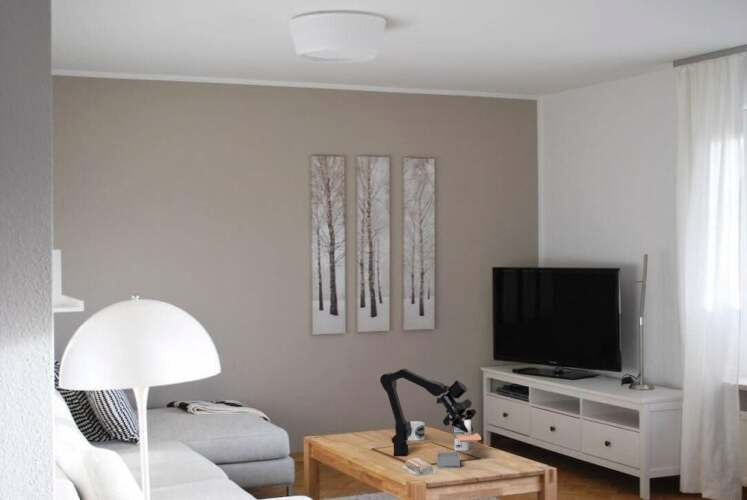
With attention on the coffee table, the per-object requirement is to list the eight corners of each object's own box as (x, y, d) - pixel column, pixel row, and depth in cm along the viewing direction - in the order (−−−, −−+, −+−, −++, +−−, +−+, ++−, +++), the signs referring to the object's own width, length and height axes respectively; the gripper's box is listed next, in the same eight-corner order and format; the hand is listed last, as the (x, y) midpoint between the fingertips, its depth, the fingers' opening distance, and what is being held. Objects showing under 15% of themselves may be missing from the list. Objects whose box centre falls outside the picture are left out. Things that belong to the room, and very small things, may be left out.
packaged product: (436, 463, 428) (415, 466, 425) (437, 474, 428) (415, 477, 425) (421, 455, 445) (401, 457, 442) (422, 466, 445) (401, 468, 442)
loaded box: (437, 468, 439) (437, 457, 439) (437, 463, 449) (436, 452, 449) (459, 467, 438) (459, 456, 438) (459, 462, 448) (458, 451, 448)
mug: (412, 436, 514) (411, 420, 514) (429, 438, 508) (428, 422, 508) (397, 440, 503) (397, 424, 503) (414, 442, 497) (414, 426, 497)
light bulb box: (468, 451, 474) (467, 428, 474) (454, 450, 475) (453, 428, 475) (470, 446, 484) (469, 424, 484) (456, 446, 486) (456, 424, 486)
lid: (458, 442, 447) (457, 422, 447) (455, 438, 457) (454, 418, 457) (481, 442, 447) (480, 421, 447) (477, 437, 458) (476, 417, 458)
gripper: (447, 396, 448) (466, 423, 440) (473, 391, 461) (492, 417, 454) (434, 412, 454) (453, 439, 446) (460, 406, 467) (479, 432, 459)
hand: (470, 431), depth 451 cm, fingers closed on lid, 3 cm apart
